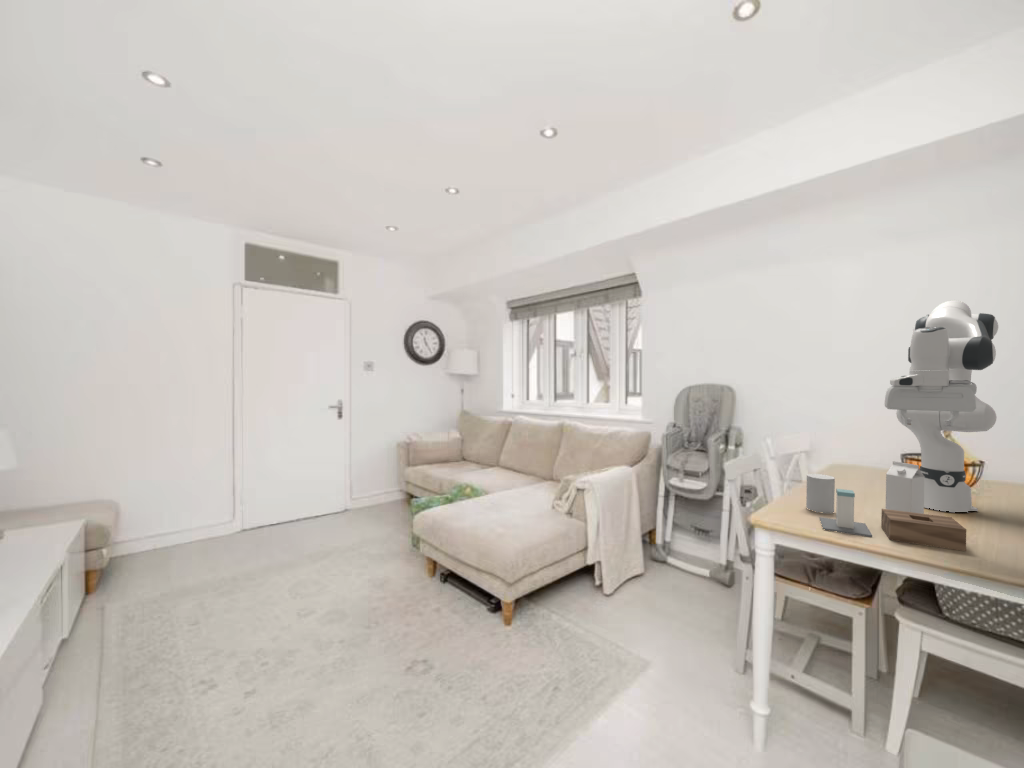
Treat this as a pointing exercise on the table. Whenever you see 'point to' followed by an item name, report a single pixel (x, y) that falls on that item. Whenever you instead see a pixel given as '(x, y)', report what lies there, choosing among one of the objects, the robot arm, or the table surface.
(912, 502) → the milk carton
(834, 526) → the mat
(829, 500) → the cup
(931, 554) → the table surface
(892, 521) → the block
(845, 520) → the plug
